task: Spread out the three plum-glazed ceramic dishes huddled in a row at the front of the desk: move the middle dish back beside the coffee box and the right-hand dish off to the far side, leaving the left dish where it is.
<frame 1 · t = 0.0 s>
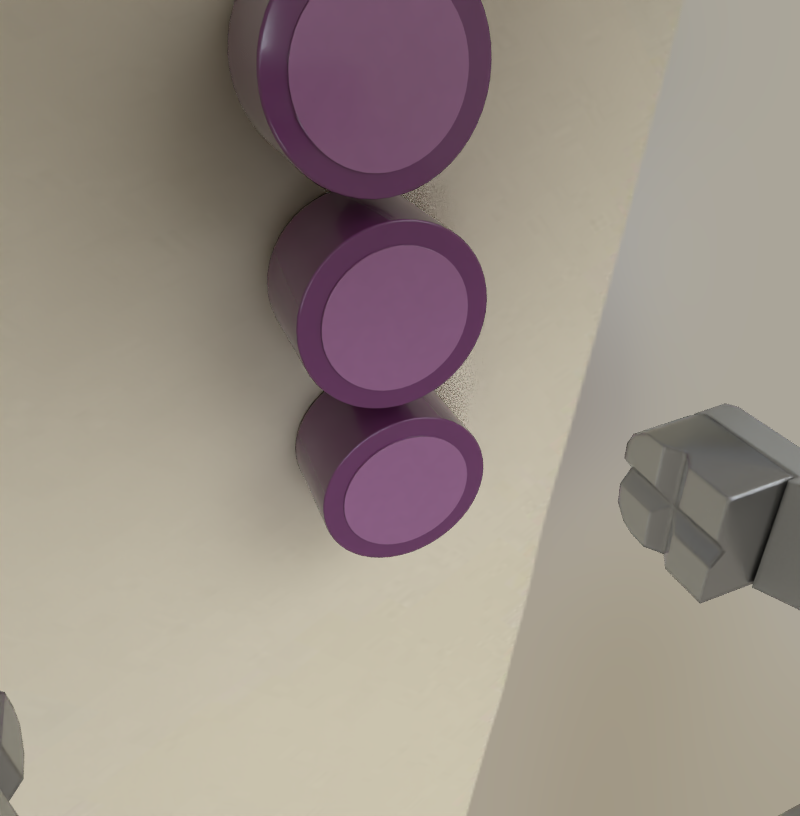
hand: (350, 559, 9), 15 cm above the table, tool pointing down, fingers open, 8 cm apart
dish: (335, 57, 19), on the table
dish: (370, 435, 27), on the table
dish middle: (356, 276, 23), on the table
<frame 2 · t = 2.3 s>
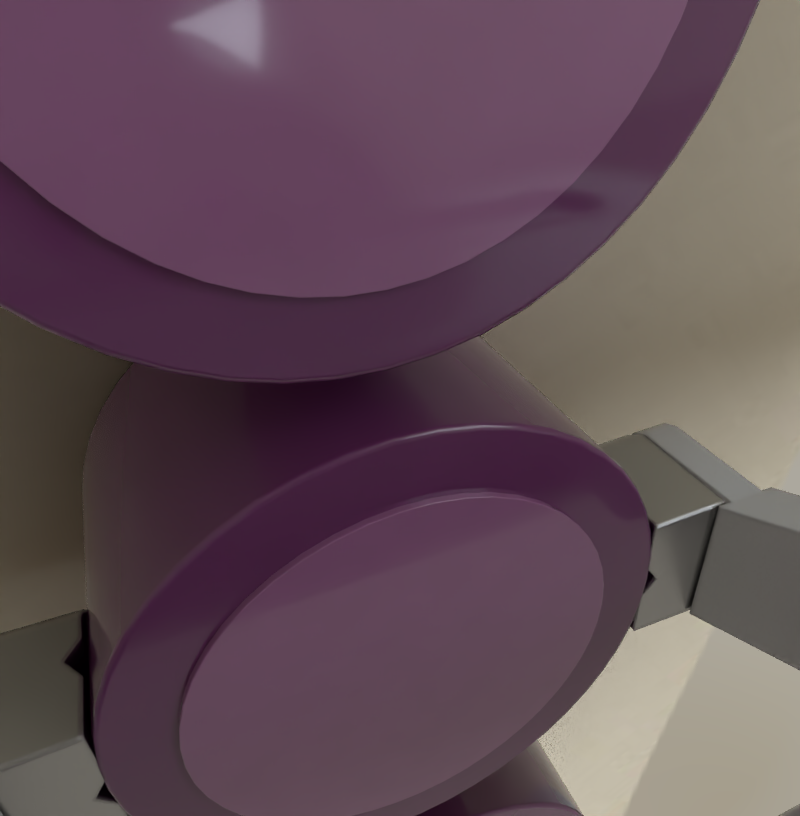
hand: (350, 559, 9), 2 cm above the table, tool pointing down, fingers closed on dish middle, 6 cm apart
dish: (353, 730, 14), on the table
dish middle: (312, 470, 10), on the table, touching gripper
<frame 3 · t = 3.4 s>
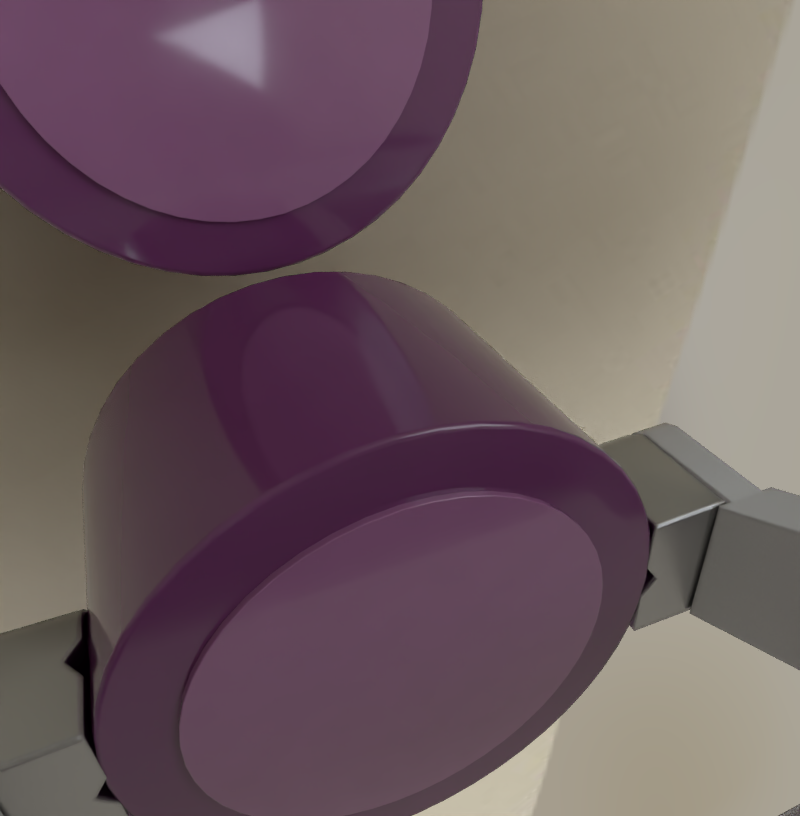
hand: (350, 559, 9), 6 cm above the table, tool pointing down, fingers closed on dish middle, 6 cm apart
dish middle: (312, 469, 10), point 4 cm above the table, touching gripper
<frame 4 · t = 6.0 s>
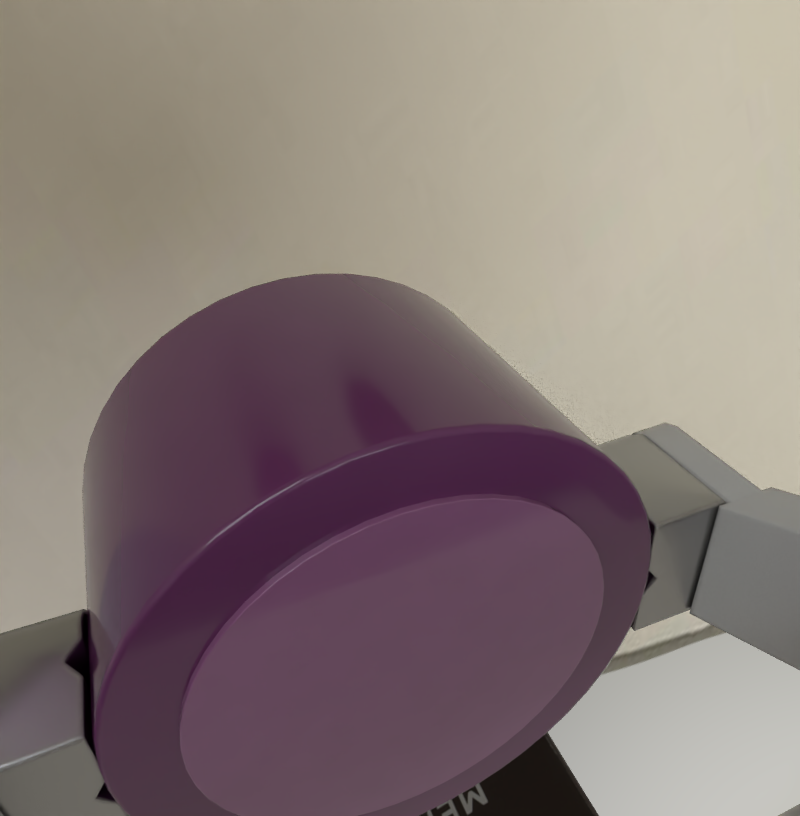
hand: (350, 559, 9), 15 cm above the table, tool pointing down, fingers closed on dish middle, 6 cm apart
dish middle: (312, 471, 10), point 13 cm above the table, touching gripper
coffee box: (308, 549, 29), on the table
when the fingers open (2 cm above the table, at t = 9.7 s): dish middle stays where it is, on the table.
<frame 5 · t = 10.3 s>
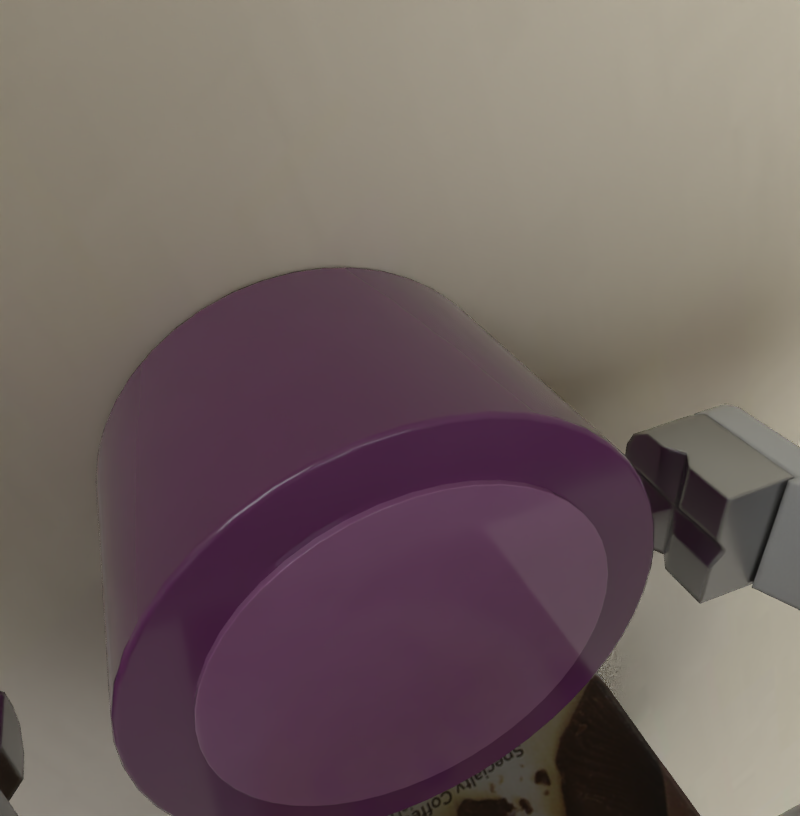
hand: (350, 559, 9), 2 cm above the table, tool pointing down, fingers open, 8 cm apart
dish middle: (320, 463, 10), on the table
coffee box: (443, 789, 17), on the table
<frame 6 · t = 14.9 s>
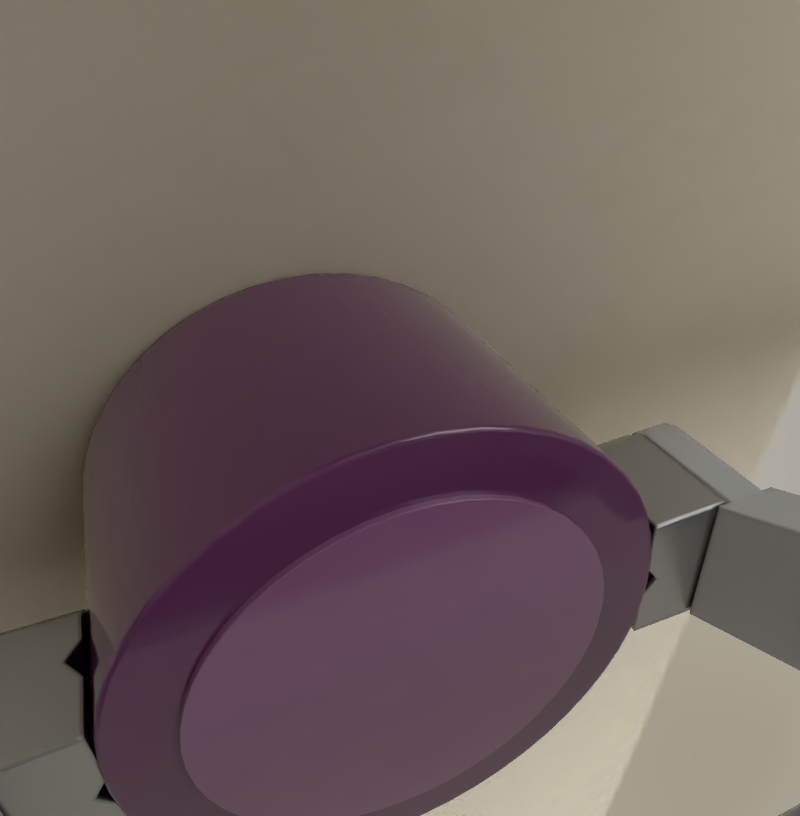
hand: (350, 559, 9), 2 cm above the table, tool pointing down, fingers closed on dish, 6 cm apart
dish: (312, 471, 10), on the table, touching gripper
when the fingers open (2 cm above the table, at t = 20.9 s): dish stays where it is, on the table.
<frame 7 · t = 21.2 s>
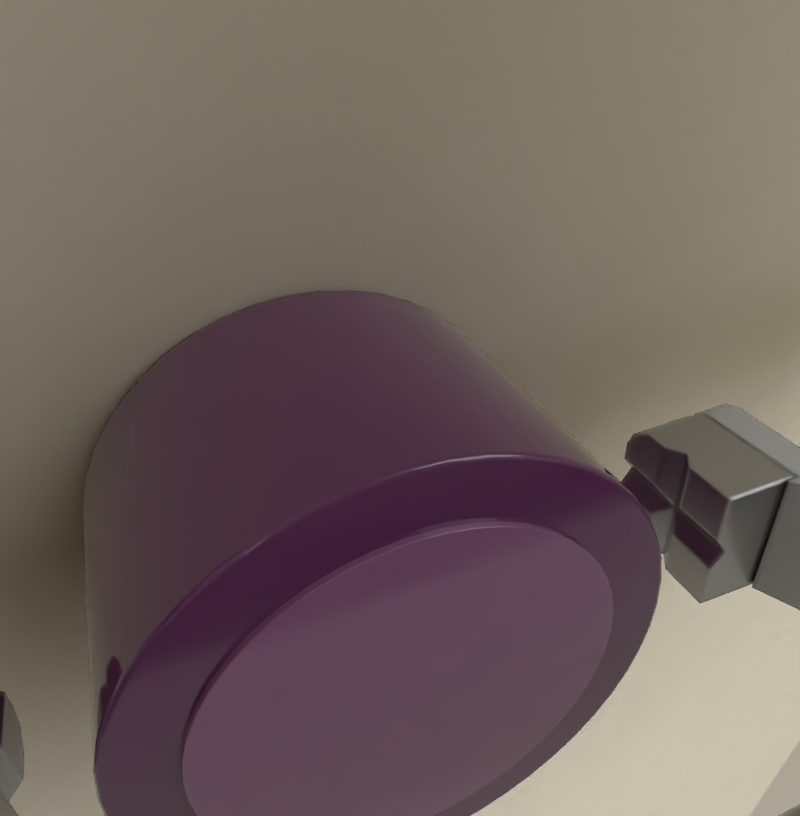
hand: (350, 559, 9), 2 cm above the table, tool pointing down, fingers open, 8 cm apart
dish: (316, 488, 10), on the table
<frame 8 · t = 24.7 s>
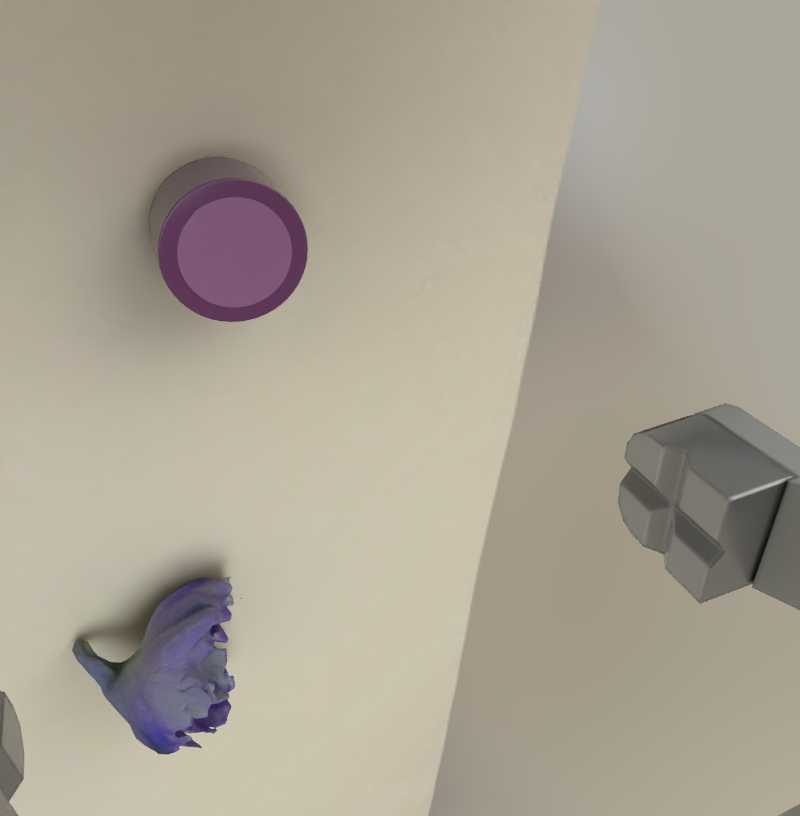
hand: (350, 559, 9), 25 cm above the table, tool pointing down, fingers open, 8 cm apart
flower: (161, 620, 42), on the table
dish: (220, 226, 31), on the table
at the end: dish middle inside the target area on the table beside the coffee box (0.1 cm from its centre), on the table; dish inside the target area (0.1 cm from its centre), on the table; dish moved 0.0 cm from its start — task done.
